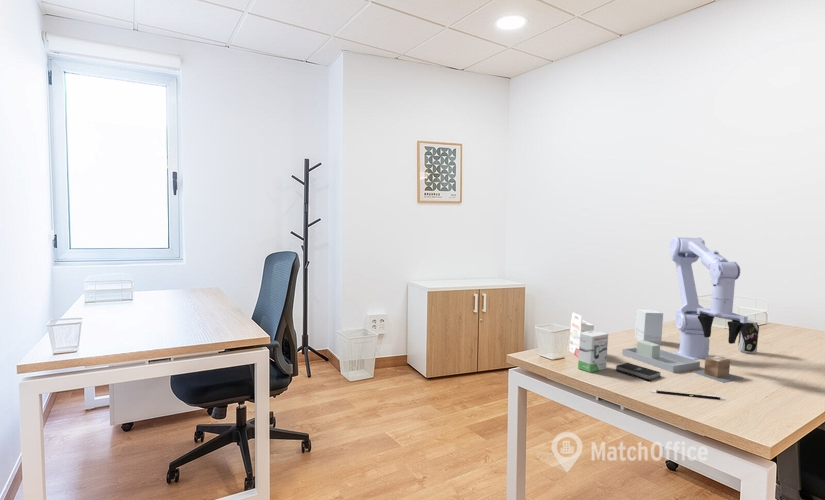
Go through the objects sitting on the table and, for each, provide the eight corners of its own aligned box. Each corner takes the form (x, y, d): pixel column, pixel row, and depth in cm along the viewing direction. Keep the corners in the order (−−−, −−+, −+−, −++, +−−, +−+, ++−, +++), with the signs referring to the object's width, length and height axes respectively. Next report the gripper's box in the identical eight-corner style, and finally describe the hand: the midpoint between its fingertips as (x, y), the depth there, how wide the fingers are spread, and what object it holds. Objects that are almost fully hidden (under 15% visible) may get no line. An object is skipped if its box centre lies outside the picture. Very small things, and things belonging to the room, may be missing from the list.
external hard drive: (649, 383, 132) (649, 376, 132) (614, 371, 142) (615, 365, 141) (660, 378, 136) (661, 372, 136) (626, 368, 145) (626, 362, 145)
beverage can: (740, 353, 166) (743, 321, 165) (735, 349, 171) (738, 318, 170) (759, 355, 164) (761, 323, 163) (753, 351, 169) (756, 320, 168)
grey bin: (647, 352, 163) (648, 345, 163) (699, 369, 146) (700, 361, 146) (622, 355, 158) (622, 349, 158) (672, 373, 140) (673, 366, 140)
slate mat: (710, 369, 146) (710, 367, 146) (743, 379, 137) (743, 378, 137) (690, 372, 142) (690, 371, 142) (723, 383, 133) (723, 382, 133)
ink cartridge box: (592, 358, 154) (595, 316, 153) (579, 358, 154) (581, 316, 153) (581, 350, 163) (583, 311, 162) (568, 350, 162) (570, 311, 161)
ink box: (590, 373, 139) (592, 336, 138) (577, 368, 143) (579, 332, 142) (606, 368, 143) (609, 333, 142) (593, 364, 148) (595, 329, 147)
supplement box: (661, 344, 175) (664, 313, 174) (642, 344, 175) (645, 312, 174) (651, 339, 182) (654, 309, 181) (633, 339, 182) (635, 308, 181)
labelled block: (704, 373, 140) (705, 357, 139) (715, 371, 142) (717, 355, 142) (717, 377, 136) (718, 361, 136) (728, 375, 139) (730, 359, 138)
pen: (726, 401, 120) (726, 397, 120) (649, 393, 124) (650, 389, 124) (724, 400, 121) (725, 396, 121) (648, 392, 125) (649, 388, 125)
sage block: (644, 354, 159) (645, 340, 159) (659, 359, 154) (660, 345, 154) (636, 355, 158) (637, 341, 157) (651, 360, 152) (652, 346, 152)
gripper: (692, 295, 147) (689, 335, 148) (739, 303, 134) (735, 347, 135) (705, 294, 150) (702, 333, 151) (753, 302, 137) (749, 345, 138)
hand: (719, 340), depth 143 cm, fingers open, 7 cm apart
